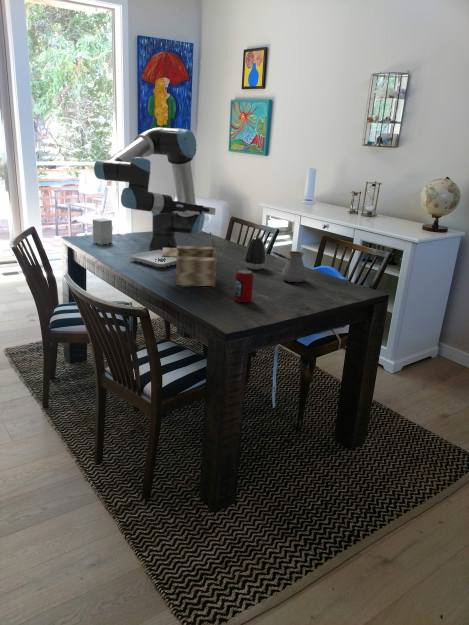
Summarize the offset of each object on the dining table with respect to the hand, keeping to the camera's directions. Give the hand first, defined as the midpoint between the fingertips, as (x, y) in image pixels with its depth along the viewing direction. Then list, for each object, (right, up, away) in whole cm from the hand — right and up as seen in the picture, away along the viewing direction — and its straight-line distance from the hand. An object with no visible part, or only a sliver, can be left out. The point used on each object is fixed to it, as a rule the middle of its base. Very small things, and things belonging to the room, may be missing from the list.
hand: (206, 211), depth 211 cm
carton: (-8, -29, +3) cm, 30 cm away
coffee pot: (+34, -29, +12) cm, 47 cm away
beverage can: (+15, -38, -16) cm, 44 cm away
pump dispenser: (+21, -21, +30) cm, 43 cm away
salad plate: (-24, -19, +29) cm, 42 cm away
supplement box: (-59, -6, +57) cm, 82 cm away
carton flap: (+3, -14, -2) cm, 15 cm away
